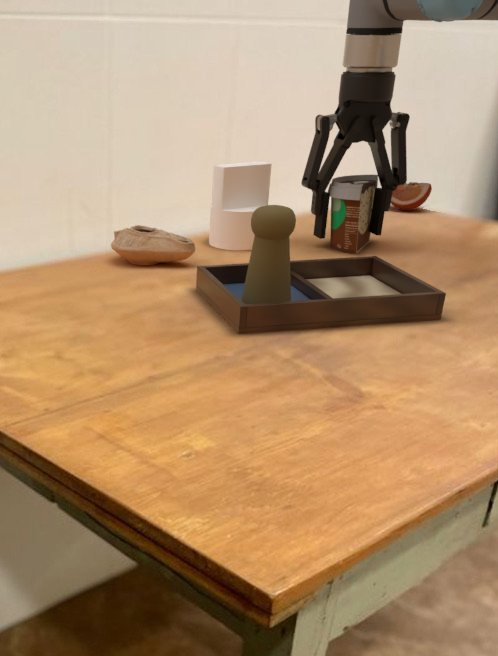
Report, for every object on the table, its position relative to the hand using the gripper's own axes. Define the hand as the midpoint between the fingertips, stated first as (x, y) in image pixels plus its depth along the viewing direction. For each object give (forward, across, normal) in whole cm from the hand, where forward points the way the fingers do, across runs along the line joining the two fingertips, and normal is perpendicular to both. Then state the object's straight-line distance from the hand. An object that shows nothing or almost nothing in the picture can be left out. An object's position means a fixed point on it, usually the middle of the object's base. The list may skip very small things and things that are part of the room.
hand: (347, 234), depth 127 cm
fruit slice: (+2, -24, -26) cm, 35 cm away
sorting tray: (+2, +17, +28) cm, 33 cm away
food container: (+2, 0, 0) cm, 2 cm away
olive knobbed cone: (+1, +23, +28) cm, 36 cm away
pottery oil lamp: (+2, +32, +4) cm, 33 cm away
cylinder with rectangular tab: (+2, +16, -5) cm, 17 cm away
